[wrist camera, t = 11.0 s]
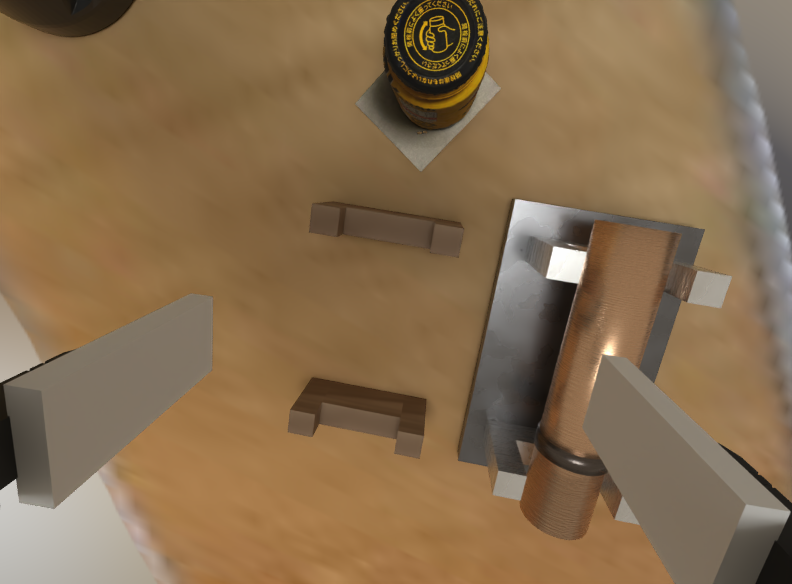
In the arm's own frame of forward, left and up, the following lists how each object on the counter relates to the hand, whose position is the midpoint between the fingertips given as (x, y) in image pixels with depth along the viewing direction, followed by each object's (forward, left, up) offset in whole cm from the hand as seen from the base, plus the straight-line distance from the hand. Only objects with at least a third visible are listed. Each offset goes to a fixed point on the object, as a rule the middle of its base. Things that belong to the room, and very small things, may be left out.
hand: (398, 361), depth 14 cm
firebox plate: (+5, +13, -22) cm, 26 cm away
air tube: (+6, +13, -18) cm, 23 cm away
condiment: (-13, -2, -22) cm, 26 cm away
